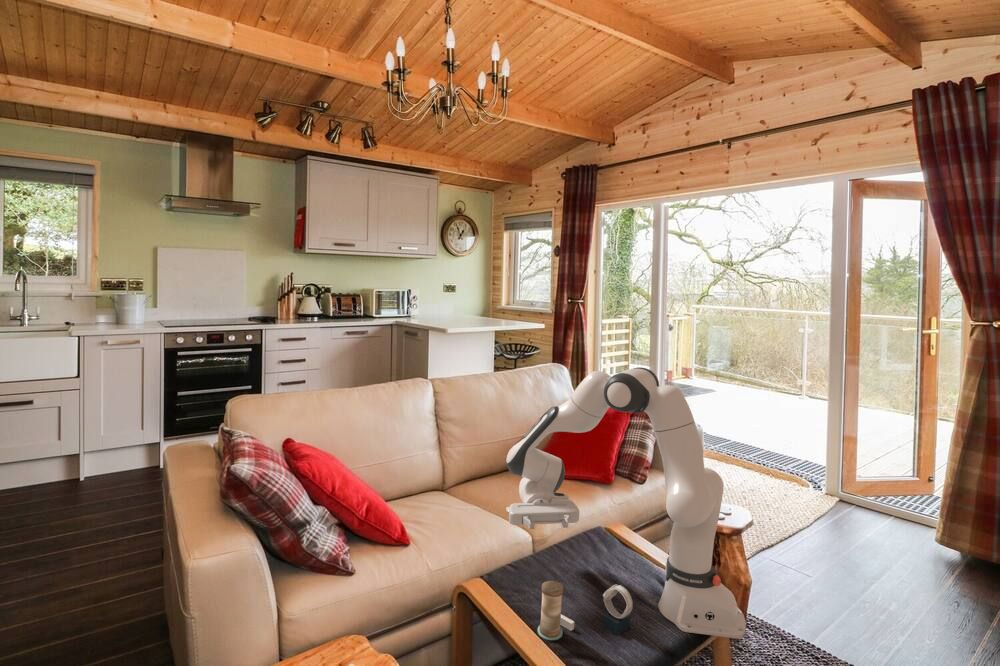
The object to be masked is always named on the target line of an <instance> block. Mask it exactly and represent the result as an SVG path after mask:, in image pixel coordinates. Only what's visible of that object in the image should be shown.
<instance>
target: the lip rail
mask: <svg viewBox="0 0 1000 666" xmlns="http://www.w3.org/2000/svg"><path fill="white" fill-rule="evenodd" d="M560 626H562V627H564V628H565V629H567V630H568V631H570V632H571V631H573V630H574V629H575V621H574V620H572V619H571V618H568V617H567V616H565V615H564V614H562V613H561V619H560Z"/></svg>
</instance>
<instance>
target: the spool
mask: <svg viewBox="0 0 1000 666" xmlns="http://www.w3.org/2000/svg"><path fill="white" fill-rule="evenodd" d="M563 593H564V586H563V584H562V583H560V582H558V581H556V580H548V581H547V580H546V581H544V582H543V583H542V584H541V610H540V623H539V626H540V628H539V631H540V633H541V634H542V635H544V636H546V637H551V638H552V637H557V636H558V635H559V634H560V632H561V628H562V627H561V625H560V619H561V614H562V604H563V603H562V599H563Z"/></svg>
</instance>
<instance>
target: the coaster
mask: <svg viewBox="0 0 1000 666" xmlns="http://www.w3.org/2000/svg"><path fill="white" fill-rule="evenodd" d="M539 628H540V625H538V627H537V634H538V635H539V637H541V638H542V639H544V640H546V641H558V640H559V639H561V638H562V637H563V634H564V633H563V629H562V627H561V632H560V634H559V635H558V636H557V637H552V638H551V637H546V636H544V635H542V634H541V633H540V631H539Z"/></svg>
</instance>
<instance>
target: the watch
mask: <svg viewBox="0 0 1000 666" xmlns="http://www.w3.org/2000/svg"><path fill="white" fill-rule="evenodd" d="M618 593H619V594H621V596H623V598H624V601H625V603H626V607H625V609H624V611H623V610H622V609H620V608H619V607H617V608H615V607H614V604H613V601H612V599H613V598H614V597H615V596H616V595H617V594H618ZM602 597H603V602H604V606H605V608H606V610H607V611H608V612H607V613H605V614H604V615H603V623H602V627H603V628H605V629H606V630H608V631H610V632H611V633H613V634H614V635H615V636H617V635H619V634H620V633H622V632H623V631H625V630H627V629H628V628H630V627H631V626H630V625H631V615H630V614H631V612H632V611H633V606H634V605H633V599H632V596H631V594H630V592H629V591H628V589H627V588H625V587H624V586H622V584H619V585H618V584H617V583H616V584H613V585H612V586H610V587H609V588H608V589H607V590H605V591H604V592H603V594H602Z"/></svg>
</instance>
